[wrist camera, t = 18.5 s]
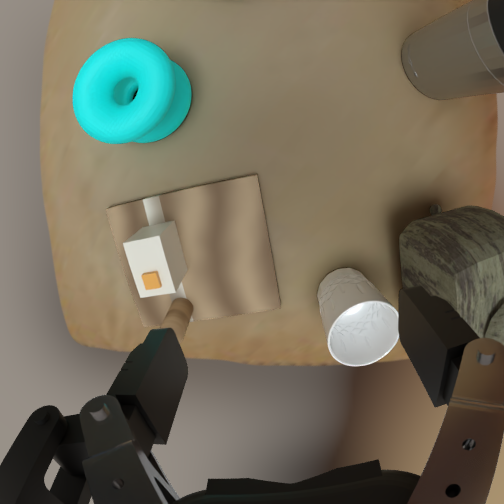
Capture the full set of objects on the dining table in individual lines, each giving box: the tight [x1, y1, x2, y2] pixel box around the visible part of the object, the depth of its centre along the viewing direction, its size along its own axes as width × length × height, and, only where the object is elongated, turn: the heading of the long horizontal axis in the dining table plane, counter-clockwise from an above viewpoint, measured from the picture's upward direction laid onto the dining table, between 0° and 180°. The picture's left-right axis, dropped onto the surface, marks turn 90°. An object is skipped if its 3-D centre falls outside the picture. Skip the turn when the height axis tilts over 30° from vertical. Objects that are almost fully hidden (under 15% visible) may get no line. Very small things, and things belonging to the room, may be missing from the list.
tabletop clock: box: [399, 204, 504, 345], centre depth 25 cm, size 14×9×25 cm, turn 16°
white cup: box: [317, 268, 399, 366], centre depth 34 cm, size 8×8×10 cm
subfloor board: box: [106, 174, 281, 327], centre depth 37 cm, size 18×16×1 cm
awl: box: [160, 298, 193, 343], centre depth 34 cm, size 3×3×9 cm
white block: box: [123, 221, 187, 298], centre depth 33 cm, size 4×6×7 cm, turn 11°
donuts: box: [73, 38, 192, 144], centre depth 27 cm, size 10×10×10 cm
